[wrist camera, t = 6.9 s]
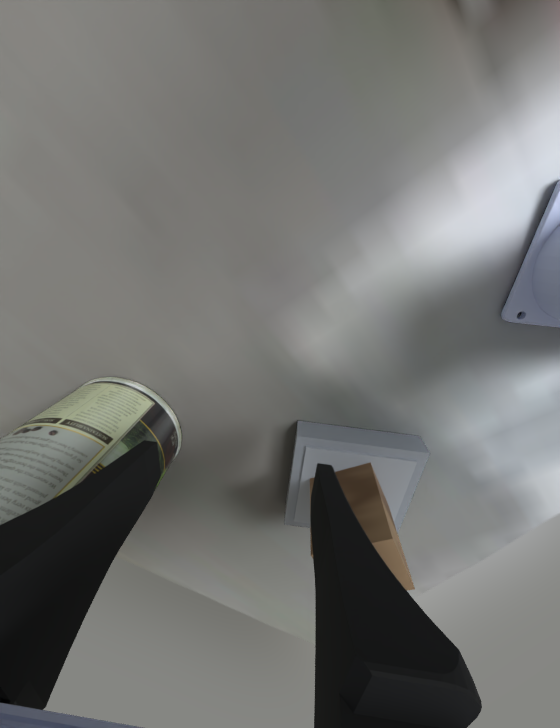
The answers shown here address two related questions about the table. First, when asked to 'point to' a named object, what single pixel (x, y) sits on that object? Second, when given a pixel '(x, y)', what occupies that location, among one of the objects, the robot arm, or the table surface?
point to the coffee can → (82, 441)
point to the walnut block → (373, 517)
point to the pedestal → (354, 464)
